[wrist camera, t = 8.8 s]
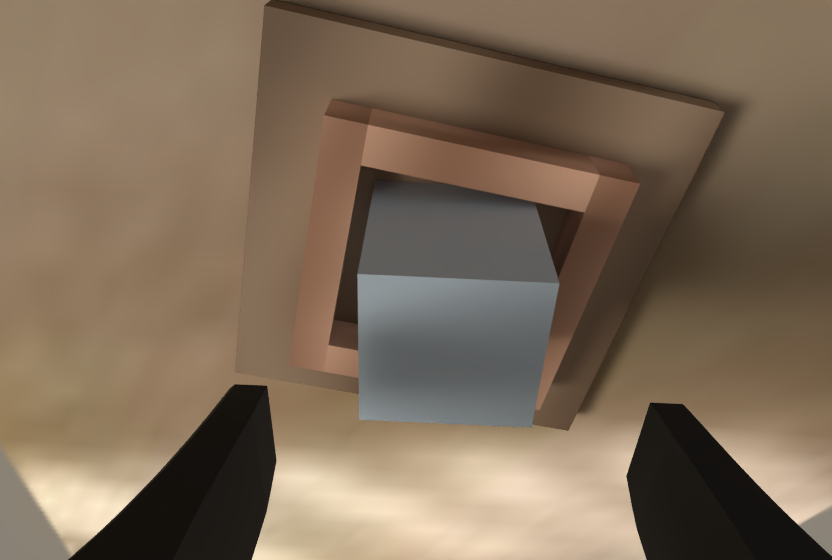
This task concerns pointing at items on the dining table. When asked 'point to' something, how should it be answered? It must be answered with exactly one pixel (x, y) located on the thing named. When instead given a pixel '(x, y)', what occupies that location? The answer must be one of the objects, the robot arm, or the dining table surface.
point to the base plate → (447, 164)
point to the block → (452, 306)
